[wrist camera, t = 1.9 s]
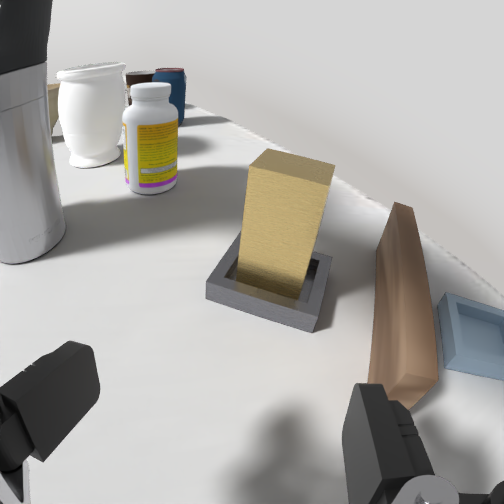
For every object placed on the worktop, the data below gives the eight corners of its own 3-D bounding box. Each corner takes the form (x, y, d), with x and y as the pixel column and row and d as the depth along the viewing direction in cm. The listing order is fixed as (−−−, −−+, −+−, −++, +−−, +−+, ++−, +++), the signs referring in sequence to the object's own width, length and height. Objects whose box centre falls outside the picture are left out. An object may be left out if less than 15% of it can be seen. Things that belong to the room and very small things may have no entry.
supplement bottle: (187, 182, 40) (192, 83, 33) (152, 202, 35) (151, 90, 28) (150, 170, 42) (151, 79, 35) (115, 187, 38) (110, 87, 30)
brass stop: (235, 285, 25) (249, 165, 19) (251, 257, 28) (267, 148, 22) (296, 304, 24) (329, 186, 18) (306, 273, 28) (335, 165, 21)
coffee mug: (158, 113, 69) (159, 73, 63) (122, 115, 67) (123, 75, 61) (160, 104, 78) (161, 69, 72) (129, 105, 76) (129, 70, 70)
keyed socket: (444, 368, 21) (456, 354, 20) (437, 305, 27) (445, 292, 26) (513, 382, 19) (525, 370, 18) (500, 324, 25) (509, 312, 24)
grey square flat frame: (205, 298, 25) (206, 281, 24) (239, 246, 30) (241, 230, 29) (312, 332, 23) (318, 316, 22) (327, 272, 29) (332, 257, 28)
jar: (92, 177, 39) (85, 70, 30) (51, 165, 42) (43, 74, 33) (139, 152, 48) (140, 61, 39) (97, 144, 50) (95, 62, 41)
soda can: (187, 120, 65) (190, 68, 57) (178, 129, 59) (181, 70, 52) (157, 119, 65) (159, 67, 57) (146, 127, 59) (147, 70, 52)
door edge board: (361, 422, 17) (406, 373, 14) (376, 250, 33) (394, 201, 29) (389, 427, 17) (438, 380, 13) (392, 255, 32) (412, 207, 29)
